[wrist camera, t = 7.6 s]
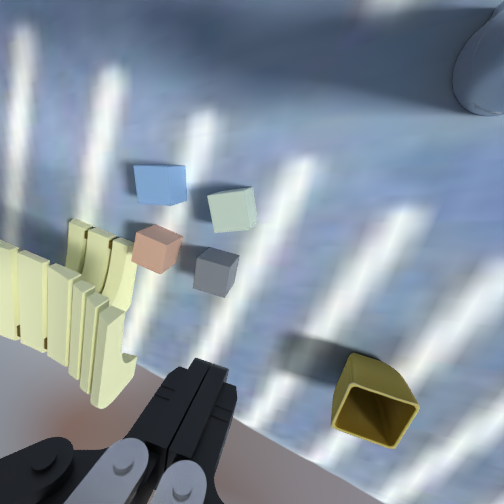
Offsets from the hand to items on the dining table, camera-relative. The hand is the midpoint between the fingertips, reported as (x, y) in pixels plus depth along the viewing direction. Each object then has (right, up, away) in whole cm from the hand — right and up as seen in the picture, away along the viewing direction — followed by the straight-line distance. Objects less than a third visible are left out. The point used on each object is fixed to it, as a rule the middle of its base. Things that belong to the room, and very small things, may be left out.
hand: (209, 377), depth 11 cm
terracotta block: (-12, +7, +32) cm, 35 cm away
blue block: (-10, +16, +28) cm, 34 cm away
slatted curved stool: (-26, +2, +37) cm, 45 cm away
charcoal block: (-3, +3, +31) cm, 31 cm away
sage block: (0, +12, +27) cm, 30 cm away
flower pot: (+20, -13, +32) cm, 40 cm away
